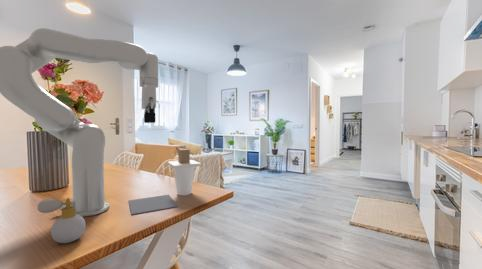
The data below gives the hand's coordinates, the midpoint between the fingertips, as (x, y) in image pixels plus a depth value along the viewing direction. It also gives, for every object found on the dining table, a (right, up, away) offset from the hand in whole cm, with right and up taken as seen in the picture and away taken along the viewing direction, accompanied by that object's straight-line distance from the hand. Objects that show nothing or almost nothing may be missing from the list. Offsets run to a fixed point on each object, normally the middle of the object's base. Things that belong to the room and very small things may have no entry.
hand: (149, 122), depth 99 cm
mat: (+5, -33, -9) cm, 34 cm away
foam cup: (+14, -32, +5) cm, 36 cm away
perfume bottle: (-7, -34, -38) cm, 52 cm away
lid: (+14, -19, +4) cm, 24 cm away
